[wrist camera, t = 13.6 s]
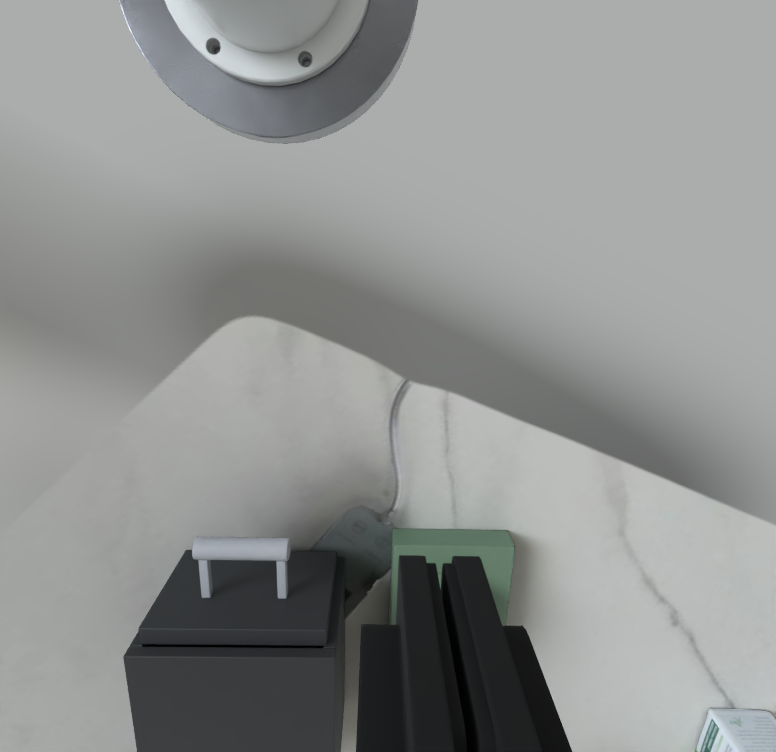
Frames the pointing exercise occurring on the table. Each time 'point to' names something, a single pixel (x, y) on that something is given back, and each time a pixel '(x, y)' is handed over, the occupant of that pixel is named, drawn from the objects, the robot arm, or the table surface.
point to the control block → (449, 543)
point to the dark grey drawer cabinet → (240, 694)
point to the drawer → (244, 596)
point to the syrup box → (738, 731)
